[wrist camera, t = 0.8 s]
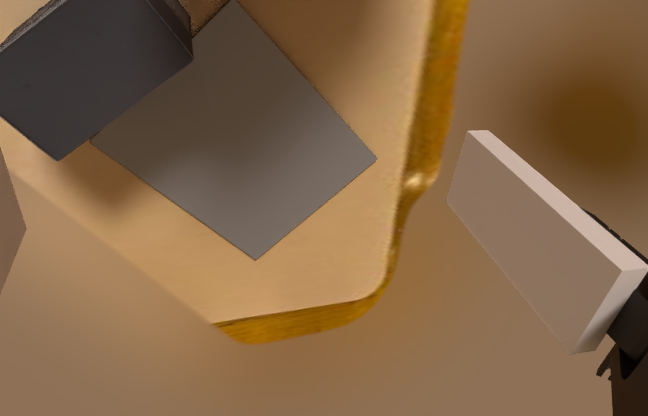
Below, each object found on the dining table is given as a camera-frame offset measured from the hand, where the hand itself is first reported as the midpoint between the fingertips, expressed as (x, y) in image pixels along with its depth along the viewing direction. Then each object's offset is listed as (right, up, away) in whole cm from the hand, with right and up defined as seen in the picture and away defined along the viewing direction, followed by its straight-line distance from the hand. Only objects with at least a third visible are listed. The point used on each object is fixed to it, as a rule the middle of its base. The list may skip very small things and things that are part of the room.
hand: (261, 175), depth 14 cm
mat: (-5, +4, +27) cm, 28 cm away
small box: (-14, +12, +20) cm, 27 cm away
